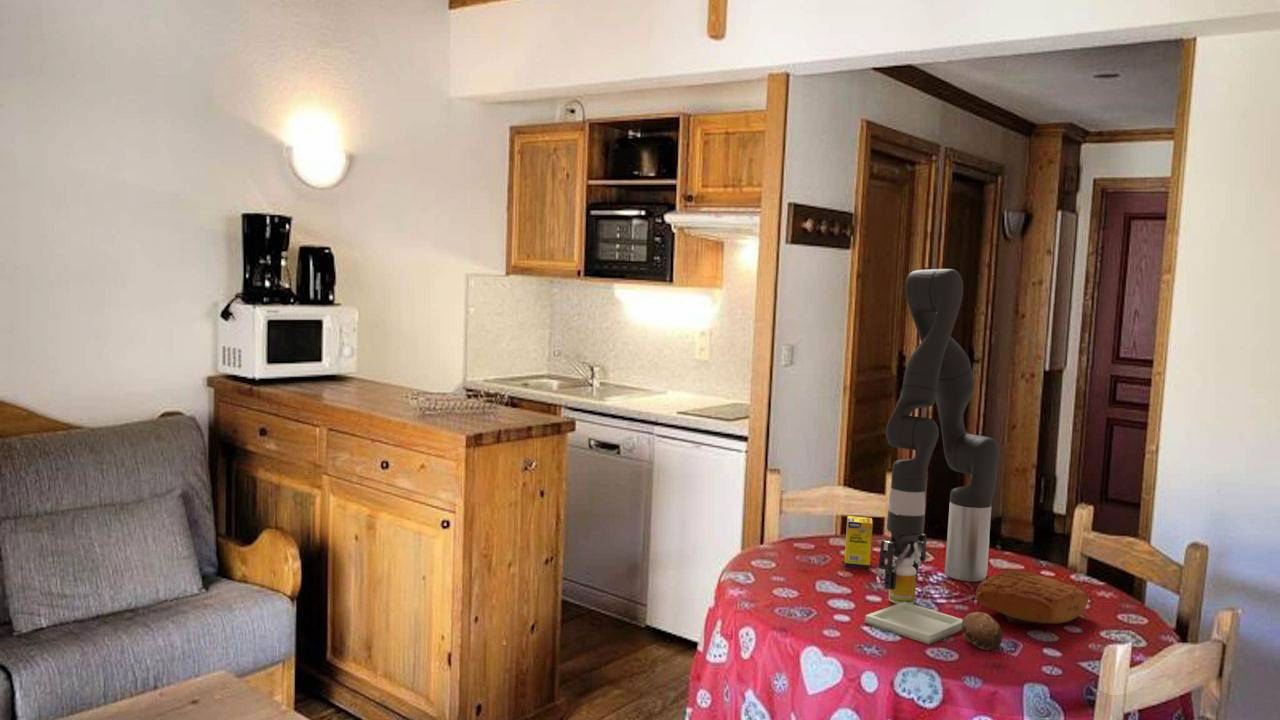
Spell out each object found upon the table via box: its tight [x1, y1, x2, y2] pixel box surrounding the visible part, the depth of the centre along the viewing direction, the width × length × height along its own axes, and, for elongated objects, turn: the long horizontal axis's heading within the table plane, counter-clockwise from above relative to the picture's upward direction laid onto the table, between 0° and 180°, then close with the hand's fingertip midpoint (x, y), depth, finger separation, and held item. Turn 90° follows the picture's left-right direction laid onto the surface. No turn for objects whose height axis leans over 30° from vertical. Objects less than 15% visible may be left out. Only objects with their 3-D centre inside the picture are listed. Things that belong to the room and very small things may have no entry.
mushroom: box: [962, 611, 1004, 651], centre depth 185 cm, size 8×8×6 cm
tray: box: [864, 602, 964, 645], centre depth 194 cm, size 14×14×2 cm
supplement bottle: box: [888, 556, 917, 605], centre depth 208 cm, size 5×5×10 cm
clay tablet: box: [975, 569, 1089, 624], centre depth 201 cm, size 22×17×8 cm
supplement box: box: [844, 515, 874, 569], centre depth 235 cm, size 6×6×11 cm
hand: (900, 585), depth 208 cm, fingers open, 8 cm apart
